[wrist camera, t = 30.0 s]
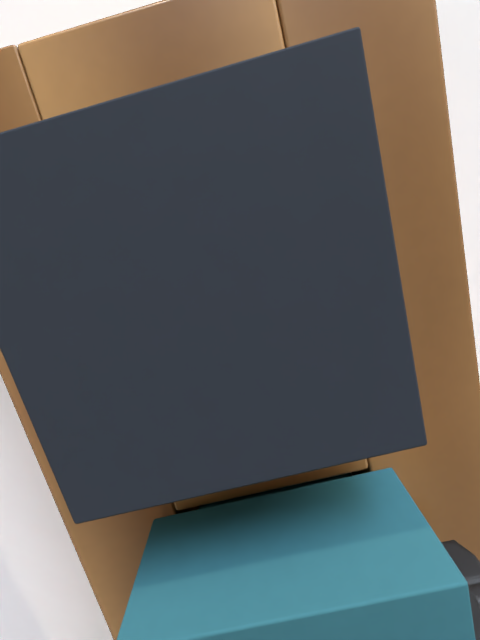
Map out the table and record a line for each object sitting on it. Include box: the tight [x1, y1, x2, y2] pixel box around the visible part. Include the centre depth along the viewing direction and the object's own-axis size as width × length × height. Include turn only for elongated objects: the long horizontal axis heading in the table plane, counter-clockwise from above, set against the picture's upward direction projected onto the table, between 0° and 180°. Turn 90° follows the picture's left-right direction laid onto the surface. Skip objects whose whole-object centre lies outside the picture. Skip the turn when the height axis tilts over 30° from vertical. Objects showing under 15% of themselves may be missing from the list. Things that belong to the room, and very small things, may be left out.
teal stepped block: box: [117, 468, 476, 640], centre depth 9 cm, size 6×6×6 cm
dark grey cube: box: [0, 27, 427, 524], centre depth 8 cm, size 6×6×6 cm
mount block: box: [0, 0, 480, 640], centre depth 11 cm, size 11×19×3 cm, turn 14°
